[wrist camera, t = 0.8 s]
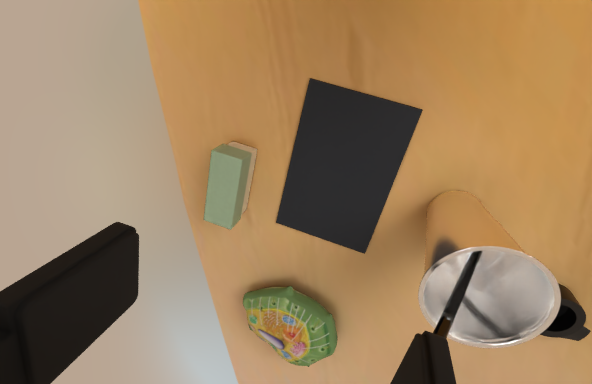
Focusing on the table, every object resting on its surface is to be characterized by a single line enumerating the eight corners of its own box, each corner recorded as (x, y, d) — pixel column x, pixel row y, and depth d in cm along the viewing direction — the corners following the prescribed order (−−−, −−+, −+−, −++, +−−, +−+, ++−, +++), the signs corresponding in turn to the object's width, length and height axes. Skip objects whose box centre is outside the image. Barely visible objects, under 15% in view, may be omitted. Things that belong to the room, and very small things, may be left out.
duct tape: (579, 263, 38) (593, 279, 36) (586, 330, 41) (599, 349, 39) (504, 272, 41) (511, 287, 38) (515, 334, 44) (522, 351, 41)
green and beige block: (231, 138, 44) (211, 149, 39) (259, 147, 43) (242, 159, 38) (222, 202, 48) (203, 220, 43) (247, 211, 48) (231, 230, 43)
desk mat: (310, 78, 38) (309, 78, 38) (422, 109, 36) (422, 109, 36) (276, 221, 47) (276, 222, 47) (365, 252, 45) (364, 253, 45)
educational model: (275, 255, 49) (262, 278, 45) (359, 320, 50) (355, 349, 45) (235, 301, 55) (220, 325, 51) (310, 358, 56) (302, 387, 51)
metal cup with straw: (381, 209, 42) (359, 485, 16) (461, 153, 37) (631, 423, 10) (436, 268, 43) (502, 618, 17) (521, 221, 38) (810, 620, 12)
